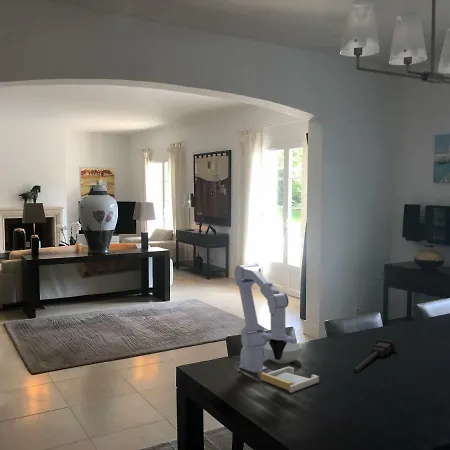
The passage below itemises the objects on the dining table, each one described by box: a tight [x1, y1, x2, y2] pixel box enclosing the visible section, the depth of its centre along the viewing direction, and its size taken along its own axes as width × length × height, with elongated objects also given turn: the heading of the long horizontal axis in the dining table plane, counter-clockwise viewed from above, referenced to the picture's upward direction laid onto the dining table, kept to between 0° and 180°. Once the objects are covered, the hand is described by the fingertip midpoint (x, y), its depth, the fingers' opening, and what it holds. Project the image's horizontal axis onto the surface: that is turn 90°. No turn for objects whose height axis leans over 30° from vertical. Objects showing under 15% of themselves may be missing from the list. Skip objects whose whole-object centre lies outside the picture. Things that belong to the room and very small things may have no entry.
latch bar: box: [256, 370, 291, 391], centre depth 197 cm, size 17×2×3 cm, turn 40°
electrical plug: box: [352, 338, 396, 373], centre depth 227 cm, size 9×42×5 cm, turn 144°
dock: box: [255, 365, 320, 393], centre depth 201 cm, size 19×17×2 cm
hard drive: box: [275, 372, 310, 385], centre depth 202 cm, size 2×8×12 cm
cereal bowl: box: [263, 340, 302, 365], centre depth 225 cm, size 17×17×7 cm
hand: (278, 359), depth 199 cm, fingers closed
